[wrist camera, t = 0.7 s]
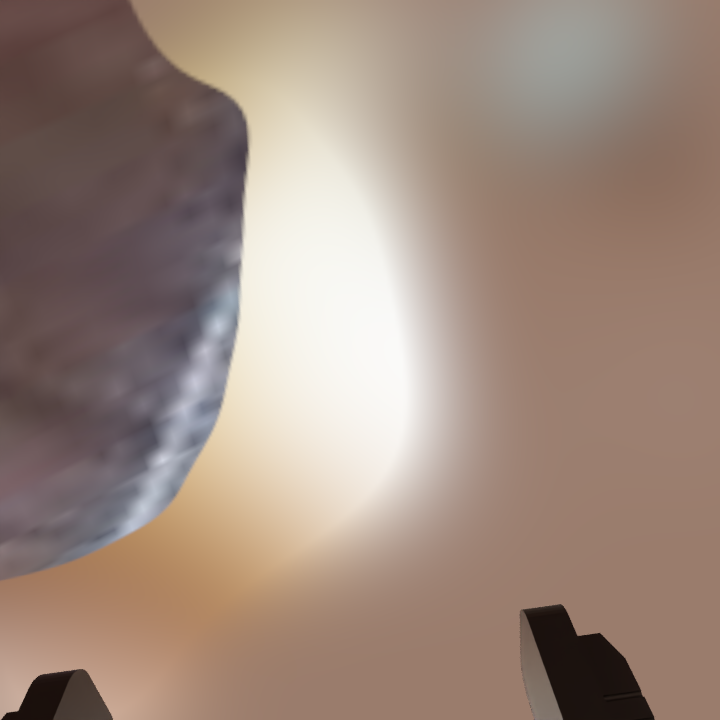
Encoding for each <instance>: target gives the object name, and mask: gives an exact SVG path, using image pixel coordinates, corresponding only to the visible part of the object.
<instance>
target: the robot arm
mask: <svg viewBox="0 0 720 720" xmlns="http://www.w3.org/2000/svg"><path fill="white" fill-rule="evenodd" d="M520 646H521V647H520V650H521V651H520V653H521V669H522V675H523V680H524V685H525V689H526V693H527V697H528V700H529V704H530V706H531V710H532V713H533V716H534V720H654V716H653V714H652V712H651V710H650V708H649V705H648V703H647V701H646V699H645V697H643V696H642V693H641V690H640V687H639V685H638V683H637V681H636V679H635V677H634V675H633V673H632V671H631V669H630V667H629V665H628V663H627V661H626V659H625V658H624V657H623V656H622V655H621V654H620V653H619V652H618V651H617V650H616V649H615V648H614V647H613V646H612V645H611V644H610V643H609V642H608V641H607V640H606V639H605V638H604V637H603V636H602V635H601V634H600V633H597V634H590V635H582V636H577V634H576V632H575V629H574V627H573V625H572V622H571V620H570V618H569V615H568V613H567V611H566V609H565V608H564V606H563V605H561V604H559V605H552V606H545V607H538V608H531V609H523V610H521V611H520ZM1 720H113V718H112V716H111V714H110V712H109V710H108V708H107V706H106V705H105V703H104V701H103V699H102V697H101V696H100V694H99V692H98V690H97V689H96V687H95V685H94V683H93V681H92V680H91V678H90V676H89V674H88V673H87V672H86V671H85V670H83V669H79V670H72V671H64V672H57V673H50V674H43V675H40V676H38V677H37V678H36V679H35V680H34V681H33V682H32V684H31V686H30V687H29V689H28V692H27V694H26V696H25V698H24V700H23V702H22V704H21V706H20V709H19V711H17V712H9V713H6V715H5V716H4V717H3V718H2V719H1Z"/></svg>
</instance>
